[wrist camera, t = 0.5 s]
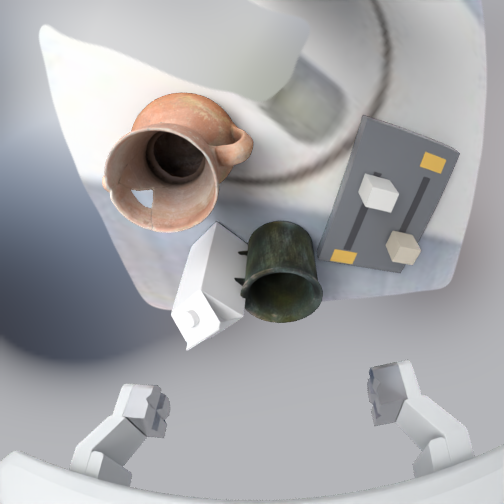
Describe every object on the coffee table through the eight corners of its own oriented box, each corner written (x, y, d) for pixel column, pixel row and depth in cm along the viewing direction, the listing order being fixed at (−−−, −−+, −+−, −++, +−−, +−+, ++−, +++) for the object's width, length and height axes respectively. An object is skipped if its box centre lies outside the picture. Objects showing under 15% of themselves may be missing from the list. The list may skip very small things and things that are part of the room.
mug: (308, 270, 55) (315, 324, 45) (226, 265, 55) (217, 319, 46) (319, 219, 48) (330, 271, 39) (225, 213, 48) (213, 264, 39)
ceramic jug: (148, 192, 46) (115, 251, 35) (118, 106, 37) (66, 142, 26) (263, 173, 44) (264, 231, 33) (245, 75, 35) (238, 94, 24)
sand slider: (392, 230, 45) (400, 246, 42) (412, 235, 46) (421, 250, 43) (385, 245, 47) (392, 261, 44) (405, 249, 48) (412, 265, 44)
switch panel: (363, 114, 37) (367, 118, 35) (453, 148, 38) (460, 153, 36) (316, 252, 52) (318, 260, 50) (397, 265, 53) (400, 273, 51)
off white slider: (364, 173, 40) (372, 186, 37) (389, 180, 40) (399, 193, 37) (358, 191, 42) (365, 206, 39) (382, 197, 42) (391, 212, 39)
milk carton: (250, 245, 52) (242, 341, 37) (223, 268, 55) (208, 361, 41) (216, 220, 49) (194, 314, 34) (191, 245, 52) (163, 338, 38)
